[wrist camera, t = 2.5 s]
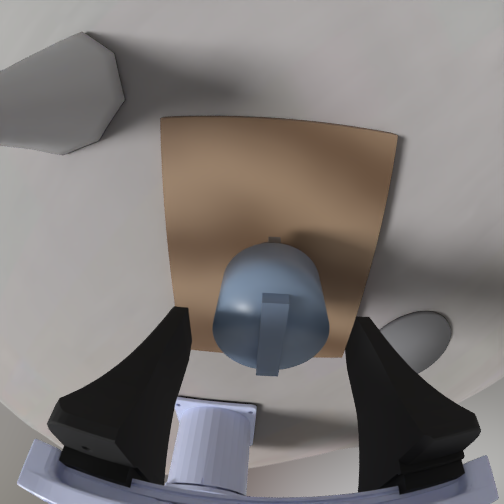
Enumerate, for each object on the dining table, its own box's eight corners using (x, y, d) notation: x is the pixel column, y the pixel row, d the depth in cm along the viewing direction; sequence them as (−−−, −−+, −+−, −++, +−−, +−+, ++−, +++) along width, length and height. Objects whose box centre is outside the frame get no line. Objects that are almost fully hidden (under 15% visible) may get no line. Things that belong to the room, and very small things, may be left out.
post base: (340, 349, 22) (346, 380, 20) (183, 340, 23) (175, 370, 20) (392, 133, 14) (416, 143, 12) (165, 116, 15) (144, 123, 12)
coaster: (427, 374, 24) (428, 377, 24) (351, 379, 24) (351, 383, 24) (463, 310, 20) (465, 313, 20) (378, 311, 20) (380, 314, 20)
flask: (16, 91, 13) (-105, 128, 5) (90, 12, 11) (-44, -10, 3) (64, 173, 16) (-51, 253, 8) (147, 102, 14) (16, 137, 6)
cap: (311, 323, 17) (319, 380, 14) (223, 318, 17) (213, 375, 14) (326, 246, 15) (343, 300, 11) (222, 239, 15) (207, 292, 11)
